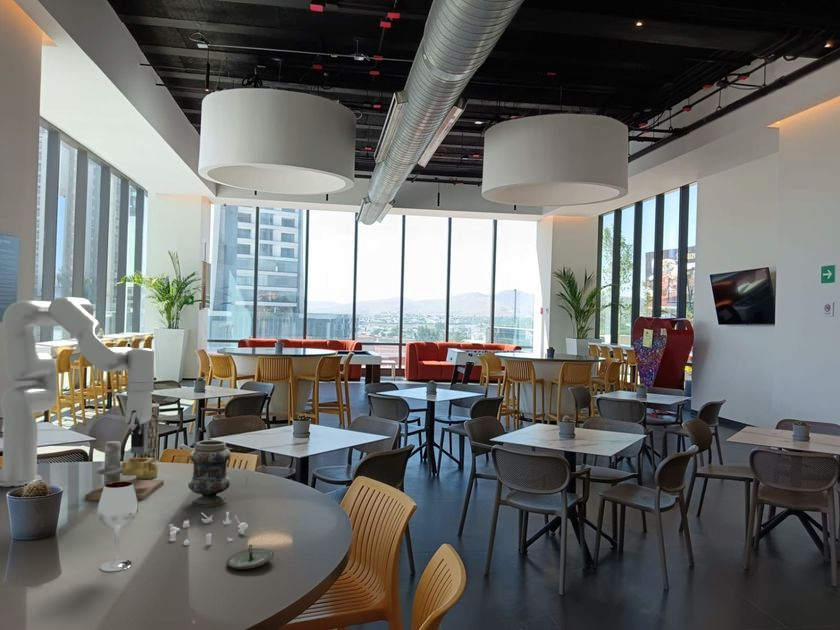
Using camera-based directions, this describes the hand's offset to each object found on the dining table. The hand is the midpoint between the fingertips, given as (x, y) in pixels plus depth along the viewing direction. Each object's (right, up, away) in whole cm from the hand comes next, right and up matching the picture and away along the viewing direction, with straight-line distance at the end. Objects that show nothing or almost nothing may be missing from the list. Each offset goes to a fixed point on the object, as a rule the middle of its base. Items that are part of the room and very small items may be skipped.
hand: (139, 444), depth 200 cm
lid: (+50, -16, -57) cm, 78 cm away
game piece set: (+34, -16, -37) cm, 53 cm away
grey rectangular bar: (0, -2, 0) cm, 2 cm away
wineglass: (+21, -15, -60) cm, 65 cm away
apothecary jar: (+25, -15, -10) cm, 31 cm away
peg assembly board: (-4, -15, 0) cm, 15 cm away
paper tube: (-6, -15, +19) cm, 25 cm away
